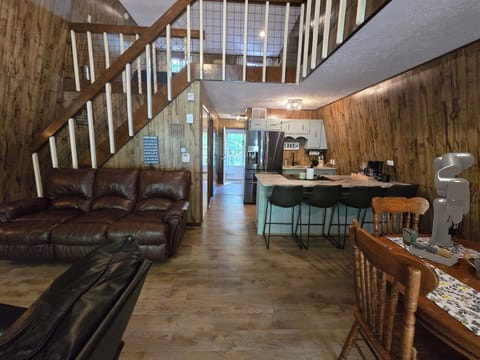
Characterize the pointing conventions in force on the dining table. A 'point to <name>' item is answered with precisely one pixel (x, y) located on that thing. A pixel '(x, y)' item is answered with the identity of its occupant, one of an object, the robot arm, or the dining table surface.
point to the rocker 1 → (417, 245)
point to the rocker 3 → (444, 253)
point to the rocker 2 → (430, 249)
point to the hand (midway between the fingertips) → (452, 234)
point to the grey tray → (434, 256)
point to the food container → (409, 236)
